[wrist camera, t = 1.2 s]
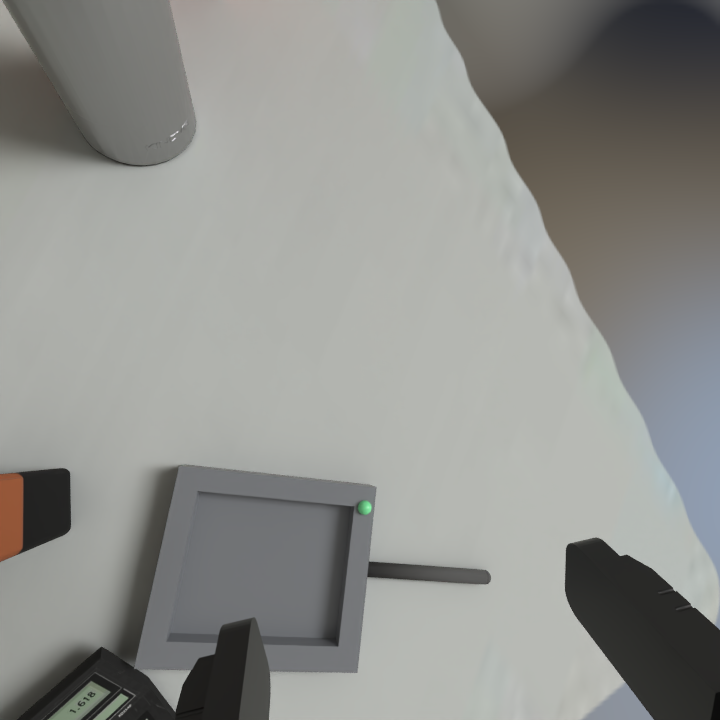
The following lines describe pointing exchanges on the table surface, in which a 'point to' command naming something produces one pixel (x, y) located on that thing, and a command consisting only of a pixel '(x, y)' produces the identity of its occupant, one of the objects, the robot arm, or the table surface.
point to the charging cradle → (268, 569)
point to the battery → (33, 509)
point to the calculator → (102, 694)
